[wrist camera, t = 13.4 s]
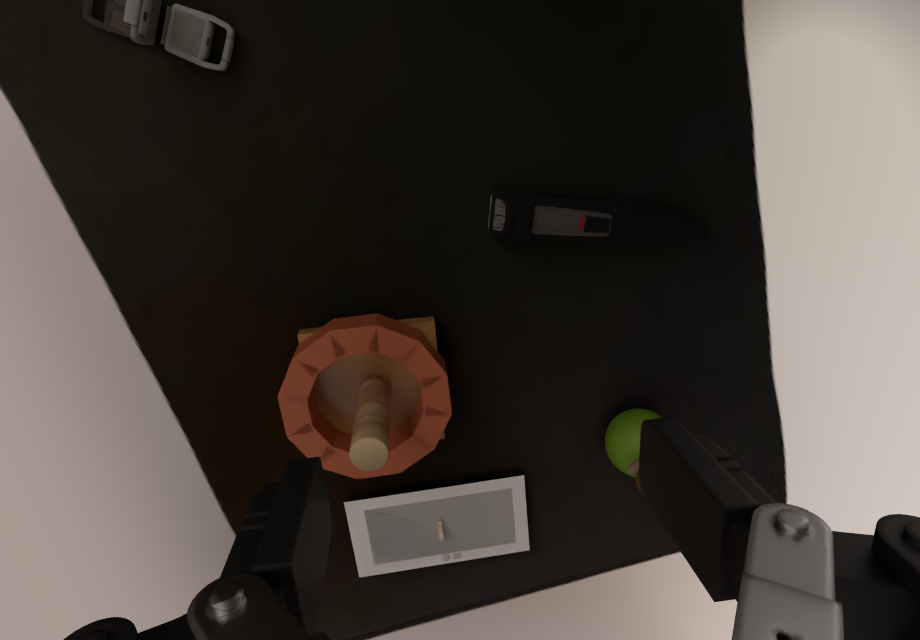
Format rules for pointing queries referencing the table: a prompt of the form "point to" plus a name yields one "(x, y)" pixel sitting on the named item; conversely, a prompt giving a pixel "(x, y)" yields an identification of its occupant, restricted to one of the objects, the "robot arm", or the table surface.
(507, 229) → the electric trimmer
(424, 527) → the touchpad
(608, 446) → the snail figurine
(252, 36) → the table surface
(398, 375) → the stand
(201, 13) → the strap clip
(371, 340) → the ring
